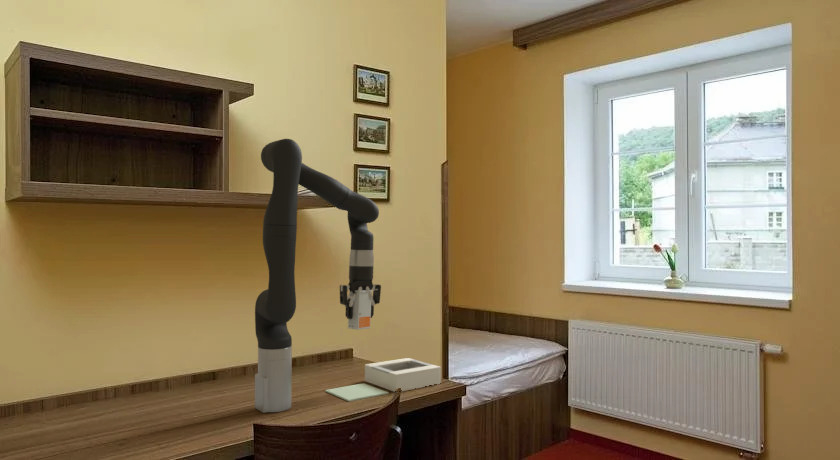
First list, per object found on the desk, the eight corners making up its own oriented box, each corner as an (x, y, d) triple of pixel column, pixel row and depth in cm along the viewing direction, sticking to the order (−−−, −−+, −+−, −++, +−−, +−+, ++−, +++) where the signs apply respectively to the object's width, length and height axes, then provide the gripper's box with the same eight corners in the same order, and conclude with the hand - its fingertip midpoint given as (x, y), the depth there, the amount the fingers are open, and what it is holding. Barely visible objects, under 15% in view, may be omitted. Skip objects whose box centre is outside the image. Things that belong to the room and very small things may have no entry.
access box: (396, 392, 185) (396, 374, 185) (364, 380, 199) (364, 364, 199) (440, 383, 196) (440, 366, 196) (408, 373, 210) (408, 357, 210)
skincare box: (357, 330, 181) (359, 290, 182) (347, 328, 184) (348, 289, 184) (371, 328, 186) (372, 289, 186) (361, 326, 189) (362, 288, 189)
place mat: (348, 401, 174) (348, 399, 174) (325, 391, 185) (325, 389, 185) (388, 393, 183) (388, 392, 183) (363, 384, 194) (363, 383, 194)
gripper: (347, 265, 178) (345, 320, 178) (387, 265, 187) (385, 318, 187) (335, 264, 184) (333, 318, 184) (373, 264, 193) (372, 315, 192)
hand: (359, 318), depth 185 cm, fingers closed on skincare box, 6 cm apart
